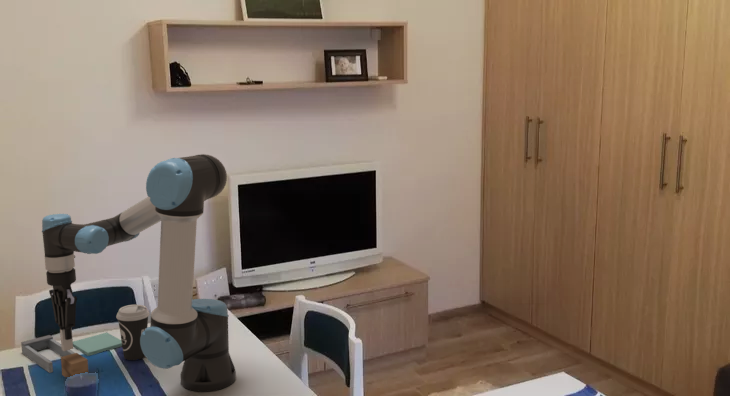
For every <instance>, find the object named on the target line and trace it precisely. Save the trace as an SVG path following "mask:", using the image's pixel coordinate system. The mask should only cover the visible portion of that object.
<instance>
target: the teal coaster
mask: <svg viewBox="0 0 730 396" xmlns="http://www.w3.org/2000/svg"><path fill="white" fill-rule="evenodd" d="M121 347H122V341H121V338H118V337H116V336H114V335H112V334H111V333H109V332H103V333H100V334H95V335H93V336H89V337H85V338H82V339H81V338H80V339H78V340H73V349H76V350H78V351H80V352H81V353H82V354H84V355H85V356H88V357H90V356H93V355H96V354H100V353H103V351H104V352H107V351H110V349H111V350H113V349H116V348H121ZM106 350H107V351H106Z"/></svg>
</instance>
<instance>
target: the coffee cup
mask: <svg viewBox="0 0 730 396" xmlns="http://www.w3.org/2000/svg"><path fill="white" fill-rule="evenodd" d="M149 311H150V310H149V309H148V308H147V306H145V305H144V304H128V305H124V306H121V307H120V308H119V309H118V312H117V313H116V316H115V317H116V319H117V322H118V327H119V334H120V340H121V341H122V346H121V347H122V353H123V358H124V359H125V360H126V359H127V361H138V360H137V359H139V360H142V359H144V358H146V356H145V355H144V354H143V351H142V349H141V345H140V337H141V334H142V332H143V331H145V329H146V328H147V327H149V326H148V323H149V316H151V313H150V312H149Z"/></svg>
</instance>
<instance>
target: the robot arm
mask: <svg viewBox="0 0 730 396" xmlns="http://www.w3.org/2000/svg"><path fill="white" fill-rule="evenodd" d="M227 181H228V174H227V169H226V168H225V166H224V164H223V163H222V161H221V160H219V159H218V158H217V157H215V156H213V155H210V154H205V153H201V154H195V155H189V156H183V157H172V158H171V157H170V158H169V159H166V160H163V161H160V162H158V163H157V164H155V165H154V166H153V167H152V168H151V169H150V171H149V173H148V175H147V178H146V181H145V182H146V183H145V190H146V194H147V197H145V198H144V199H142V200H141V201H138V202H137V203H135V204H134V205H132V206H130V207H129V208H127V209H125V210H123V211H122V212H120V213H119V214H117V215H115V216H112V217H109V218H107V219H102V220H97V221H93V222H90V223H84V224H83V223H82V224H77V223H73V220H72V217H71V215H70V214H68V213H55V214H54V213H53V214H49V215H46V216H44V217H43V218H42V220H41V221H42V222H41V224H42V226H41V228H42V229H41V233H42V240H43V242H42V243H43V252H44V265H45V266H44V267H45V270H46V272H45V273H46V284H47V285H48V286H51V287H52V288H51V289H49V291H48V293H49V295H50V299H51V303H52V305H51V306H52V309H53V315H54V320H55V321H54V322H55V324H57V325H58V328H59V334H60V344H61V348H62V350H63V351H66V350H73V349H74V347H73V341H74V340H73V330H72V329H73V328H75V327H76V319H77V318H76V315H77V314H76V311H77V308H76V307H77V300H78V298H77V297H78V296H76V295H75V296H73V295H74V294H73V289H72V286H71V285H72V284H74V283H75V282H76V281H77V274H76V269H75V266H76V265H75V258H76V255H75V252H77V253H84V254H87V255H91V254H92V255H93V254H95V255H97V254H100V253H102V252H103V251H104V250H105V249H106V248H107V247H110V246H112V245H116V244H121V243H124V242H125V243H126V242H130V241H131V240H134V239H136V238H138V236H140V233H141V232H143V231H145V230H147V229H150V228H151V227H152V226H154V225H156V224H158V223H160V238H159V239H160V242H159V244H160V245H159V262H158V264H159V266H158V282H157V283H158V284H157V285H158V286H157V305H156V307H155V308H154V309H153V310H152V311H151V313H150V323H149V325H150V326H148V327H147V328H146V329H145V331H143V332H142V334H141V337H140V345H141V349H142V351H143V354H144V355H145V358H147V361H148V362H150V364H151V365H153V366H154V367H157V368H159V369H163V370H166V369H170V368H173V367H175V366H179V365H181V364H182V363H183V365H182V368H181V371H180V384H181V386H182V387H183V388H185V389H186V390H189V391H193V392H213V391H219V390H222V389H225V388H228V387H230V386H231V385H232V384H234V383H235V382H236V378H237V375H236V368H235V364H234V363H233V359H232V357H231V354H230V351H229V350H230V349H229V348H230V347H229V342H230V341H229V315H230V314H228V313H229V312H228V310H229V309H228V305H227V304H226V303H225V302H224V301H223V300H220V299H214V298H194V299H193V292H194V275H195V262H196V261H195V257H196V241H197V224H198V223H197V220H198V219H199V218H200V217H201V216H202V215H204V208H205V202H206V201H207V200H209V199H213V198H215V197H217V196H219V195H220V194H221V193H222V192H223V190H224V189H225V187H226V184H227Z"/></svg>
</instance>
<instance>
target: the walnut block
mask: <svg viewBox="0 0 730 396" xmlns="http://www.w3.org/2000/svg"><path fill="white" fill-rule="evenodd" d="M60 363H61V376H63V377H64V378H66V377H70V376H73V375H75V374H80V373H85V372H88V373H89V359H87V358H86V357H84V356H82V355H81V354H79V353H78V352H75V353H74V354H70V355H67V356H63V357H62V356H60Z"/></svg>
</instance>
